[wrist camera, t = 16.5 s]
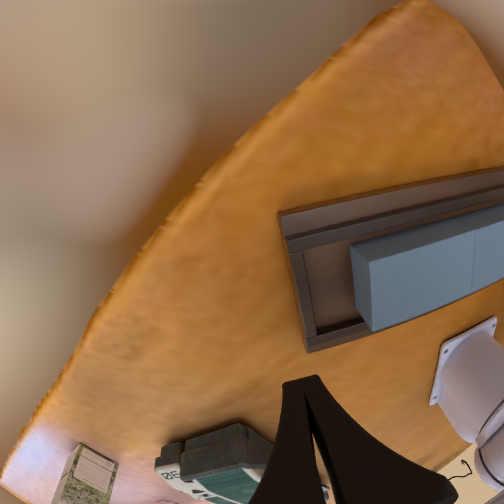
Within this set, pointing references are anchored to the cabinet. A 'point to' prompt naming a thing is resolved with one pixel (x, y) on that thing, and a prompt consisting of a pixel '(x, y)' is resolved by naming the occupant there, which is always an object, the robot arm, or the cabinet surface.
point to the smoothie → (165, 502)
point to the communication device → (218, 465)
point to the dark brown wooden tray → (361, 229)
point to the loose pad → (412, 271)
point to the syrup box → (86, 478)
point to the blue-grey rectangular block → (486, 244)
